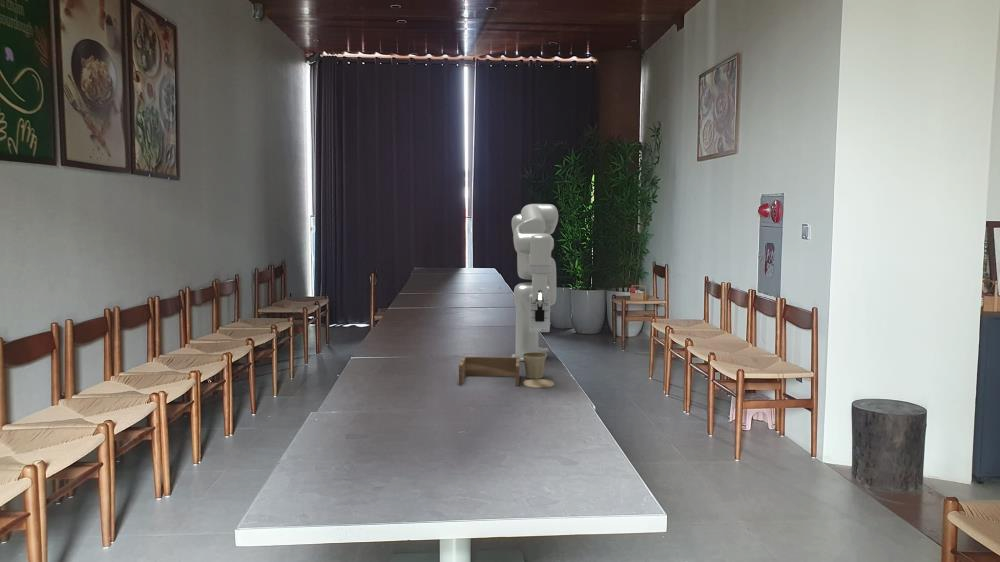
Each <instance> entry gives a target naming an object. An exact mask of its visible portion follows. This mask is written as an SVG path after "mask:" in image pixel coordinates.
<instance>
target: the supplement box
mask: <svg viewBox="0 0 1000 562" xmlns="http://www.w3.org/2000/svg"><path fill="white" fill-rule="evenodd" d="M543 300H544V299H543V297H542V301H543ZM537 301H538V297H537ZM537 308H538V306H537ZM535 310H536V301H534V303H533V302H532V294H530V296H529V331H530V332H539V333H549V332H550V328H551V306H550V294H547V295H546V302H545V303H544V322H536V321H535Z"/></svg>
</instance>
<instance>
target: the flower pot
mask: <svg viewBox="0 0 1000 562" xmlns="http://www.w3.org/2000/svg"><path fill="white" fill-rule="evenodd" d="M522 356H523V359H524V361H523V362H524V368H525V377H526V378H527V379H529V380H530V379H543V377H544V371H545V366H546V365H545V363H546V361H547V357H548V354H547V352H546V353H541V352H527V353H523V354H522Z"/></svg>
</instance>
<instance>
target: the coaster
mask: <svg viewBox="0 0 1000 562" xmlns="http://www.w3.org/2000/svg"><path fill="white" fill-rule="evenodd" d="M523 386H524V387H528V388H533V389H548V388H552V387H554V386H555V382H554V381H552V380H549V379H544V378H540V379H535V378H533V379H530V378H529V379H526V380H524V381H523Z"/></svg>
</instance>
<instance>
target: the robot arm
mask: <svg viewBox="0 0 1000 562" xmlns="http://www.w3.org/2000/svg"><path fill="white" fill-rule="evenodd" d="M558 221H559V212H558V209H557V207H556V206H555V205H554V204H550V203H530V204H526V205H525V206H523V207H522V209H521V210H520V213H518V214H515V215H513V217H512V218H511V229H512V234H513V236H512V239H513V240H512V241H513V246H514V250H515V252H516V253H517V256H516V257H517V260H516V262H517V263H516V264H517V265H516V266H517V267H516V268H517V276H518V277H519V278H520V279H523V280H531V282H520V283H518V284H516V285H515V286H514V288H513V289H514V290H513V297H514V298H513V299H514V305H515V350H514V351H515V353H512V354H511V357H520V362H524V359H523V356H522V354H523V353H527V352H541V353H546V354H547V353H549V351H550V350H549V348H548V347H544V348H543V347H540V346H539V333H540V332H530V331H529V296H530V294H532V302H533V303H534V301H536V310H535V321H536V322H544V303H545V302H546V295H547V294H550V307H551V306H553V305H555V303H556V301H557V266H556V265H557V264H556V261H555V259H554V258H553V257H552V251H553V250H554V248H555V242H554V238H553V237H552V235H551V234H553V233H554V232H555V229H556V227H557V225H558ZM537 297H538V301H537ZM542 297H543V299H544V300H543V301H542ZM537 306H538V308H537Z"/></svg>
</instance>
